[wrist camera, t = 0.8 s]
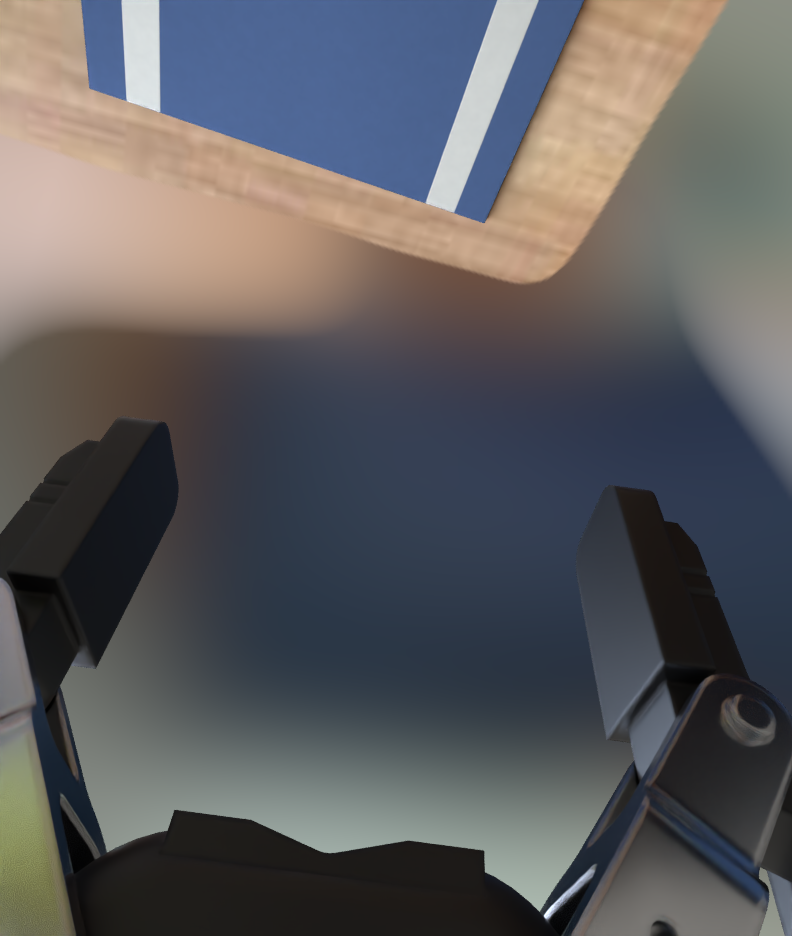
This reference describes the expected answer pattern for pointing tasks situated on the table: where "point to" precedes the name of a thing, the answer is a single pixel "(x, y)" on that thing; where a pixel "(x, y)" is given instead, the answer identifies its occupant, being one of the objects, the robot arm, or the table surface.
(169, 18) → the towel
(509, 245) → the table surface
